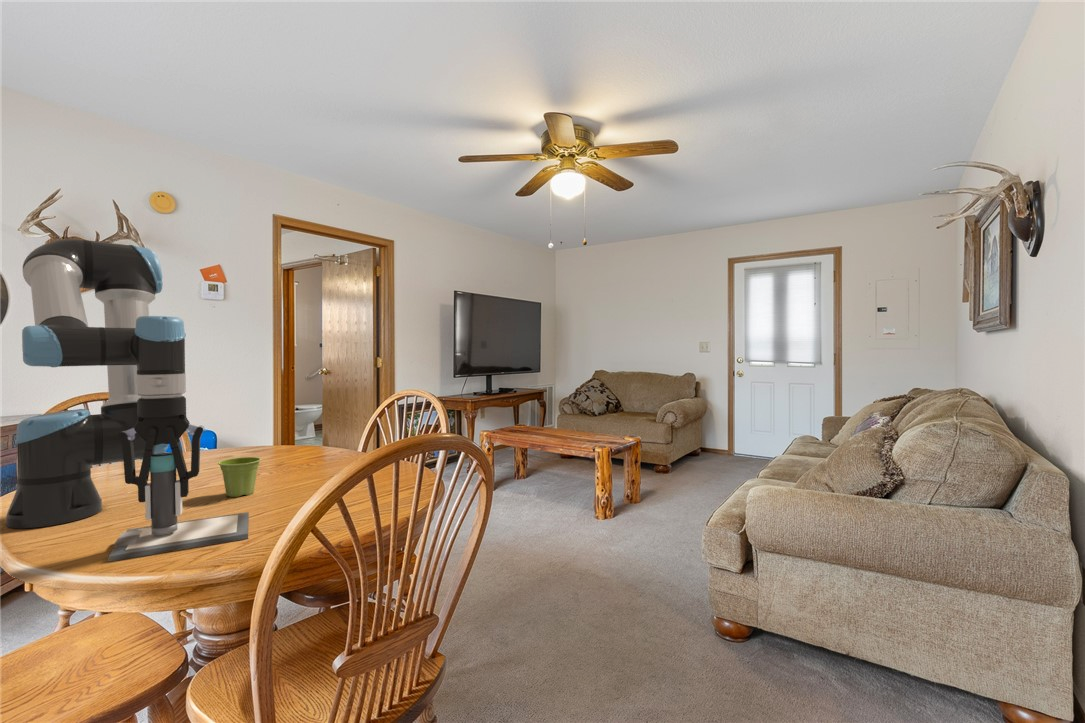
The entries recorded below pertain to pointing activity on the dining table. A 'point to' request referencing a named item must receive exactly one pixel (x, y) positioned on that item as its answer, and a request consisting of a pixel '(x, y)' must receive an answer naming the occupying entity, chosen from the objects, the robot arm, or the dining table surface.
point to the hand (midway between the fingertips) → (164, 515)
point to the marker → (163, 493)
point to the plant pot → (239, 475)
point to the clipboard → (181, 536)
